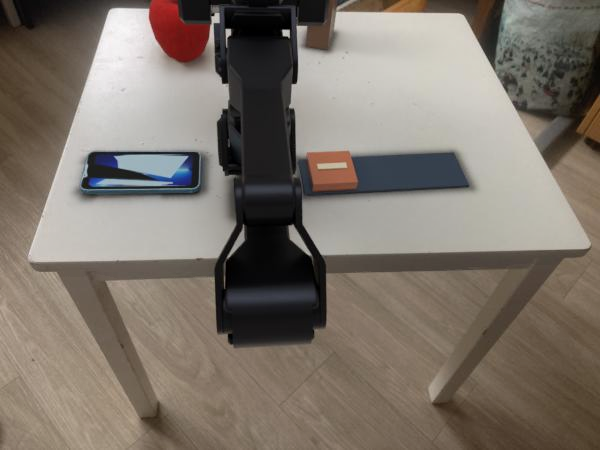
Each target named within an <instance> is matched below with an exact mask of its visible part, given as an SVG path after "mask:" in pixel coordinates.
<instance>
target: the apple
mask: <svg viewBox="0 0 600 450" xmlns="http://www.w3.org/2000/svg"><path fill="white" fill-rule="evenodd" d="M148 21H149V25H150V28H151V31H152V34H153V36H154V39H155V41H156V42H157V43H158V45H159V46H160V48H161V50H162V51H163V52H164V54H165V55H166V56H168V57H169V58H170V59H173V60H174V61H177V62H179V63H184V64H185V63H190V62H192V61H194V60H196V59H198V58H200V57H201V56H202V55H203V54H204V52H205V51H206V48H207V45H208V44H209V40H210V35H211V34H210V33H211V25H198V24H184V23H183V22H182V21H181V20H180V18H179V11H178V3H177V0H151V2H150V5H149V8H148Z"/></svg>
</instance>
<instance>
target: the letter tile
mask: <svg viewBox="0 0 600 450" xmlns="http://www.w3.org/2000/svg"><path fill="white" fill-rule="evenodd" d="M351 157H352V156H351V152H350V150H337V151H335V150H334V151H332V150H331V151H314V152H313V151H312V152H306V158H305V159H306V162H307V167H308V172H309V177H310V182H311V187H312V192H317V191H335V190H354V189H356V188H357V184H358V180H357V176H356V173H355V169H354V166H353V162H352V159H351Z"/></svg>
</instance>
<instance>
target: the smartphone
mask: <svg viewBox="0 0 600 450" xmlns="http://www.w3.org/2000/svg"><path fill="white" fill-rule="evenodd" d="M202 160H203V159H202V154H201V152H199V151H197V150H92V151H90V152H89V153H88V154H87V155H86V158H85V161H84V166H83V169H82V174H81V177H80V181H79V188H80V191H81V193H83V194H86V195H105V194H106V195H107V194H109V195H111V194H118V195H119V194H120V195H121V194H194V193H197V192H199V191H200V190H201V182H202V181H201V180H202V162H203V161H202Z"/></svg>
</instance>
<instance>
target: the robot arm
mask: <svg viewBox="0 0 600 450" xmlns="http://www.w3.org/2000/svg"><path fill="white" fill-rule="evenodd" d="M329 2H330V0H177V3H178V11H179V18H180V20H181V21H182V22H183V23H184V24H198V25H212V23H213V45H214V47H213V50H214V70H215V74H217V75H218V76H219V78H221V85H228V100H227V108H226V107H225V108H221V114H220V117H219V119H217V121H216V136H217V139H216V140H217V156H218V165H219V166H220V167H221V168H222V172H223V173H224V177H230V176H235V177H233V180H232V181H233V196H234V212H235V226H234V227H233V230H232V231H231V232H230V234H229V236H228V239H227V240H226V241H225V244H224V246H223V247H222V250H221V251H220V253H219V255H218V257H217V260H216V262H215V264H214V269H213V270H214V271H213V273H214V274H213V276H214V297H215V298H214V299H215V301H214V302H215V325H216V333H217V336H219V335H221V336H223V335H227V343H228V344H229V345H230V346H233V349H234V350H236V349H253V348H267V347H268V348H269V347H270V348H272V347H287V346H288V347H289V346H307V345H311V344H312V341H313V340H314V339H315V330H326V328H327V322H328V321H327V318H328V309H327V308H328V305H327V304H328V303H327V302H328V301H327V298H328V297H327V296H328V295H327V263H326V261H325V259H324V257H323V255H322V253H321V252H320V250H319V249H318V247H317V245H316V244H315V242H314V241H313V238H312V237H311V235H310V233H309V232H308V231H307V229H306V227H305V225H304V221H303V220H304V219H303V217H304V216H303V190H302V180H301V178H300V176H296V172H297V137H296V136H297V132H296V130H297V129H296V128H297V127H296V111H295V108H294V107H290V106H291V104H292V92H293V91H292V90H293V85H297V84H298V80H299V79H298V78H299V49H298V27H307V26H323V25H324V24H325V23H326V22H327V20H328V12H329ZM216 14H218V15H219V16H218V18H219V19H218V20H219V21H218V22H213V18H212V17H215V16H216ZM227 30H230V35H229V36H227ZM283 31H289V35H284V32H283ZM291 226H293V227H294V229H295V230H296V232H297V234H298V235H299V237H300V238H301V240H302V242H303V243H304V246H306V248H307V250H308V252H309V253H310V255H311V256H312V257H311V256H310V255H309V254H308V253H307V252H305V250H304V249H302V248H301V247H299V246H298V245H297V244H296V242H294V241H293V240H292V239H291V235H290V228H289V227H291ZM242 231H243V242H242V243H241V244H239V246H237V248H236V249H235V250H234V251H233V253H232V254H230V253H231V251H232V250H233V247H234V246H235V244H236V242H237V241H238V238H239V237H240V235H241V233H242ZM229 255H230V256H229ZM224 264H225V265H224ZM224 266H225V267H224Z"/></svg>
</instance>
